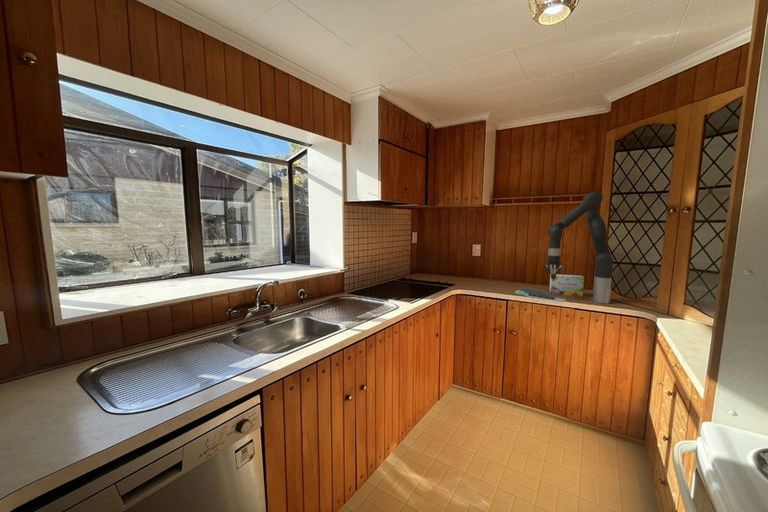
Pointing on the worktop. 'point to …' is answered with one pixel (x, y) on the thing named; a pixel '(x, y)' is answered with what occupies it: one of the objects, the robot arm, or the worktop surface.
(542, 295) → the domino
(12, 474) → the worktop surface
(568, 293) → the snack box
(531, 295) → the mat
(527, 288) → the domino
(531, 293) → the domino
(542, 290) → the domino
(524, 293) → the domino
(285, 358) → the worktop surface
